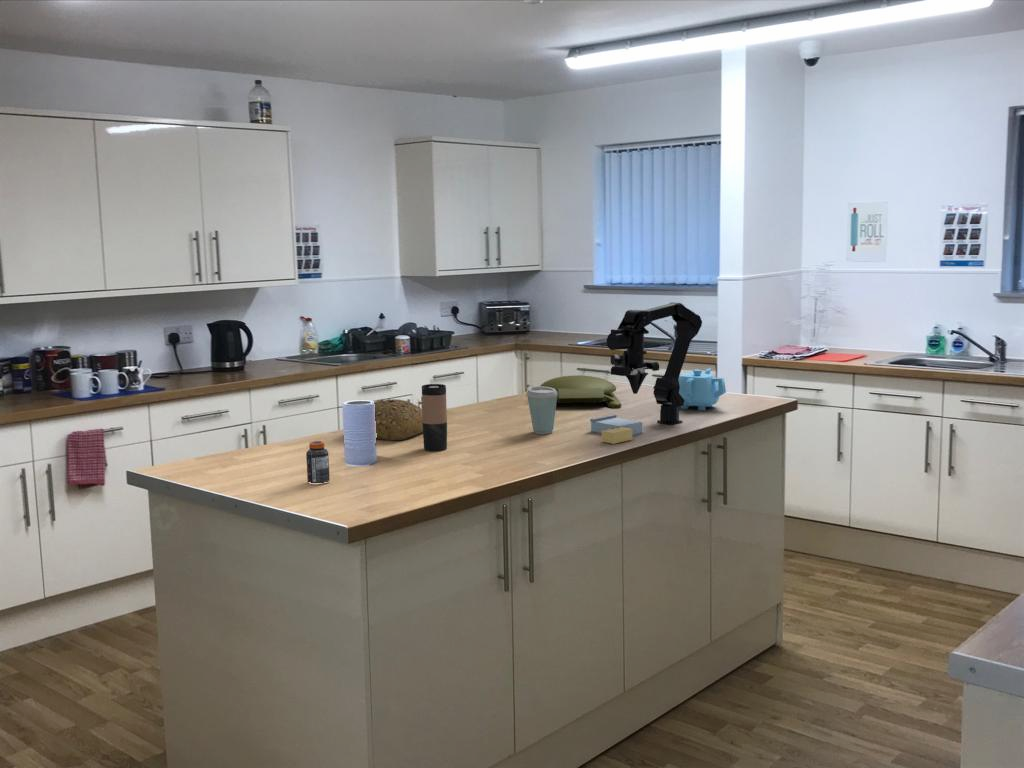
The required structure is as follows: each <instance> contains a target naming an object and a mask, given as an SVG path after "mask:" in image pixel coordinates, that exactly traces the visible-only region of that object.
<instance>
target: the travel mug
mask: <svg viewBox="0 0 1024 768" xmlns="http://www.w3.org/2000/svg"><path fill="white" fill-rule="evenodd" d="M421 404H422V405H421V409H422V422H423V423H422V424H423V432H422V436H423V437H422V439H423V449H424V451H426V452H442V451H443V452H444V451H446V450H447V449H448V448H447V447H448V413H447V411H448V410H447V409H448V408H447V406H448V405H447V386H446V385H445V384H442V383H428V384H423V385H421Z"/></svg>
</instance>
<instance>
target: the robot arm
mask: <svg viewBox="0 0 1024 768" xmlns="http://www.w3.org/2000/svg"><path fill="white" fill-rule="evenodd" d="M669 317H671V319H672V320H673V321H674V322H675V324H676V325H675V332H676V338H675V339H676V340H675V342H674V345H673V349H672V351H671V353H670V357H669V359H668V363H667V366H666V369H665V373H664V374H663V376H662V377H657V378H656V379H655V384H654V386H653V387H652V388H653V395H654V398H655V402H656V404H657V405H660V411H659V414H660V415H659V416H660V417H659V420H656V421H657V422H656V423H661V424H666V425H674V424H679V423H680V424H681V423H683V420H682V419H681V420H680V408H681V407H682V406H683V405H684V401H685V400H684V399H683V398H682V396H681V395H680V394H679V389H680V385H679V379H678V378H679V375H681V371H682V369H683V365H684V362H685V359H686V357H687V354H688V351H689V347H690V344H691V341H692V340H693V339H694V338H695V337H696V336H697V335H698V334H699V331H700V330H701V327H702V324H703V320H702V317H701V316H700V315H699V314H697V313H696V312H694V311H693V310H691V309H689V308H687V307H686V306H685V305H684V304H683V303H681V302H676V301H675V302H674V301H672V302H669V303H668V304H667V303H666V304H664V305H663V304H662V305H659V306H658V305H657V306H655V307H651V308H648V309H629V310H627V311H625V313H624V316H623V318H622V320H621V321H620V324H619V326H618V327H617V329H616V328H615V329H610V333H609V334H608V335H607V338H606V346H607V347H608V349H609V350H610V351H618V350H624V351H623V353H622V354H623V355H618V354H613V355H610V364H611V365H612V366H611V367H610V375H612V376H620V377H626V378H627V380H628V382H629V386H630V389H631V391H632V394H633V395H636V394H638V393H639V391H640V388H641V386H642V384H643V382H644V380H645V379H646V377H647V376H648V375H649V372H646V370H652V371H653V372H656V371H660V364H659V362H657V361H651V360H645V355H646V354H647V350H645V343H644V342H645V335H647V334H649V333H650V331H649V330H647V328H646V327H647V326H649V325H650V324H651V323H653V322H654V321H658V320H661V319H665V318H669Z"/></svg>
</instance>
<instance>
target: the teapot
mask: <svg viewBox="0 0 1024 768" xmlns="http://www.w3.org/2000/svg"><path fill="white" fill-rule="evenodd" d="M711 370H712V368H711V367H708V368H707V369H705V371H704V373H702V372H703V371H702V369H693V370H692V372H688V373H684V374H680V375H679V378H678V380H679V385H680V389H679V394H680V395H681V396H682V398H683V399H684V400H685V401H684V405H683V406H680V409H681V410H682V409H683V410H688V409H689V407H697V410H698V411H700V410H705V411H707V409H706V408H707V407H712V408H714V407H713V405H716V404H717V403H718V401H719V399H720V397H721V396H722V395H724V394H725V393H727V389H726V383H725V378H724V377H716V376H715V374H711Z"/></svg>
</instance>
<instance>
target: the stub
mask: <svg viewBox="0 0 1024 768" xmlns="http://www.w3.org/2000/svg"><path fill="white" fill-rule="evenodd" d="M632 440H633V435H632V429H630V428H625V427H617V428H611V429H606V430H602V433H601V442H603V443H607V444H611V445H613V444H615V445H616V444H618V443H622V442H627V441H632Z"/></svg>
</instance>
